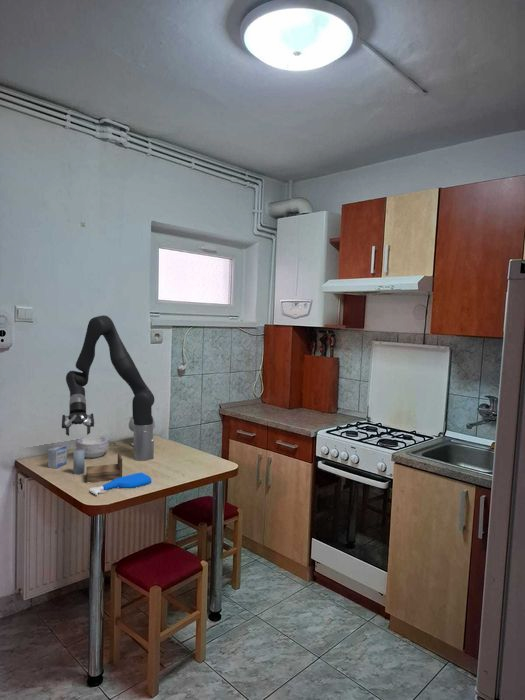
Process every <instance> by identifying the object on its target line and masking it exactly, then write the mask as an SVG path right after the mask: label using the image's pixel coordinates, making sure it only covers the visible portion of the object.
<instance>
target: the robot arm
mask: <svg viewBox="0 0 525 700" xmlns="http://www.w3.org/2000/svg"><path fill="white" fill-rule="evenodd" d="M114 323H115V322H114V321H113V320H112V319H111V317H109V316H108V315H104V314H103V315H98V316H94V317H92V318H90V320H89V322H88V324H87V326H86V327H87V328H86V331H85V337H84V339H83V344H82V348H81V351H80V353H79V356H78V357H77V360H76V362H75V368H76V369H77V370H78V371H76V370H70V371H68V372H67V373H66V376H65V381H66V385H67V387H68V390H69V401H68V402H69V410H68V411H69V413H68V414H69V415H65V414H62V415H61V418H62V419H61V429H65V435H66V436H67V437H69V436H70V428H71V427H73V425H84V426H86V435H90V434H91V427H93V428H94V427H95V419H94V417H95V416H94V413H90V414H87V400H86V389H85V387H86V386H87V384H88V383H89V375H90V370H91V366H92V364H93V363H94V359H95V357H96V356H95V355H96V346H97V343H98V341H99V339H100V338H101V336H103V337H104V339H105V341H106V343H107V345H108V349H109V357H110V362H111V364H112V366H113V368H114V369H115V371H116V372H117V374H118V376H119V377H120V378H121V379H122V380H123V381H124V382H125V383H126V384H127V385H128V386H129V388H130V389H131V391H132V393H133V398H132V409H131V410H132V417H133V420H134V432H133V442H134V446H133V459H134V460H136V461H148V460H152V459H153V460H154V457H155V456H154V452H155V451H154V449H155V445H154V442H155V440H154V429H153V418H154V417H153V413H152V412H153V411H152V408H153V407H152V406H153V405H154V403H155V395H154V394H153V392H152V391H151V389H150V388H149V387H148V386H147V384H146V383H145V381H144V380H143V377H142V376H141V373H140V372H139V370H138V368H137V366H136V364H135V362H134V360H133V358H132V357H131V355H130V353H129V352H128V350H127V348H126V347H125V345H124V343H123V341H122V339H121V337H120V335H119V333H118V331H117V328H116V326H115V324H114ZM152 417H153V418H152ZM67 420H68V421H67ZM89 420H90V422H89ZM66 421H67V423H66Z"/></svg>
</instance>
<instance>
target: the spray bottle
mask: <svg viewBox="0 0 525 700" xmlns="http://www.w3.org/2000/svg"><path fill="white" fill-rule="evenodd" d="M149 483H150V484H151V483H152V477H151V476H150V475H148V474H146V473H144V472H136V473H132V474H127V475H124V476H123V475H122V477H120V478H117V479H114V480H112V481H108V482H107V483H103V484H102V485H100V486H96V487H90V488H89V492H90V493H91V494H92V493H93V495H94V494H95V495H94V496H96V495H98V496H99V494H101V493H103V494H104V493H108V492H109V490H108V489H111V490H113V489H112V488H115V489H121V488H133V489H136V487H137V488H140V486H141V487H144V486H147V485H146V484H148V485H149ZM143 485H144V486H143ZM117 487H119V488H117ZM103 490H107V491H103ZM98 493H99V494H98Z"/></svg>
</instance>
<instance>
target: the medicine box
mask: <svg viewBox="0 0 525 700" xmlns="http://www.w3.org/2000/svg"><path fill="white" fill-rule="evenodd" d="M67 452H68V451H67V445H62V444H59V445H56V446H54V447H51V448H49V449H47V468H50V469H58V468H60V467H62V466H64V465H66V464H67V461H68V459H67Z"/></svg>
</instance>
